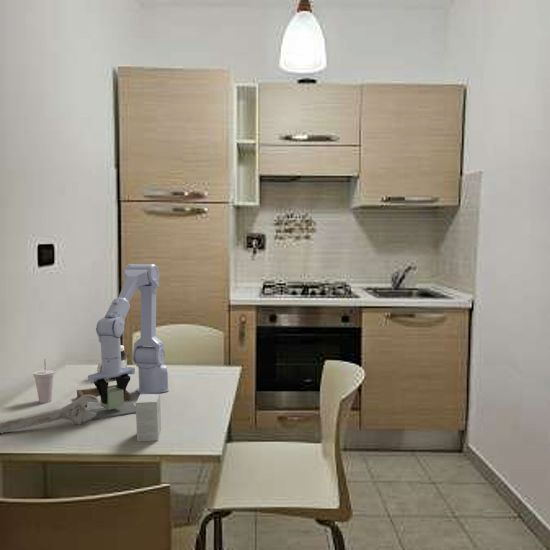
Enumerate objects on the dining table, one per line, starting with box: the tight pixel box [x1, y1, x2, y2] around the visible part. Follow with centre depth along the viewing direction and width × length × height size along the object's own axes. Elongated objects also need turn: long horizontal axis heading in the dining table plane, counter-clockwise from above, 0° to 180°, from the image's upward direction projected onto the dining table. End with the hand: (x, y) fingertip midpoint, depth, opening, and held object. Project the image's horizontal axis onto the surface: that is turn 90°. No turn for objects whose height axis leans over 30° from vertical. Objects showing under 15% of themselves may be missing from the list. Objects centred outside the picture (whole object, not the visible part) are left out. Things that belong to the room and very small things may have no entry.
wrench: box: [0, 394, 100, 434], centre depth 163 cm, size 8×2×30 cm
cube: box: [100, 387, 125, 410], centre depth 176 cm, size 5×5×5 cm
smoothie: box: [33, 358, 55, 404], centre depth 189 cm, size 6×6×14 cm
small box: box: [135, 393, 162, 443], centre depth 155 cm, size 8×6×10 cm
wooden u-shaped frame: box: [76, 384, 130, 408], centre depth 191 cm, size 14×12×2 cm
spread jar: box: [96, 344, 128, 380], centre depth 220 cm, size 12×11×12 cm
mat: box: [86, 402, 136, 421], centre depth 177 cm, size 14×9×1 cm, turn 118°
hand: (112, 401), depth 176 cm, fingers closed on cube, 5 cm apart
